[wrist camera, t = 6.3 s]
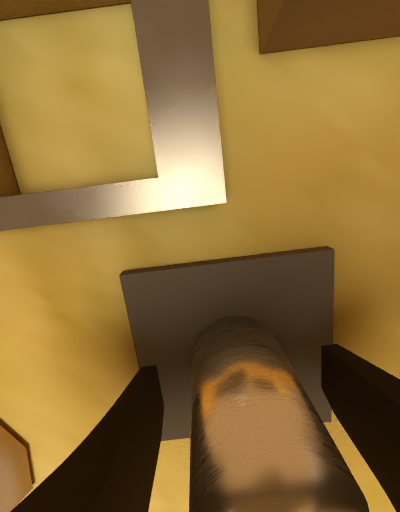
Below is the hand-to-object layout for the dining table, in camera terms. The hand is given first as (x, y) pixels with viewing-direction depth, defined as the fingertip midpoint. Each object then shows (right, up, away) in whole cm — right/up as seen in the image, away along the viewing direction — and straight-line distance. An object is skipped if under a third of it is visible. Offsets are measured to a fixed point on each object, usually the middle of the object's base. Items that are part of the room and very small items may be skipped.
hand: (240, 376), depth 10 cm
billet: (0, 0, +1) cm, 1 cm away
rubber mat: (0, +1, +2) cm, 2 cm away
